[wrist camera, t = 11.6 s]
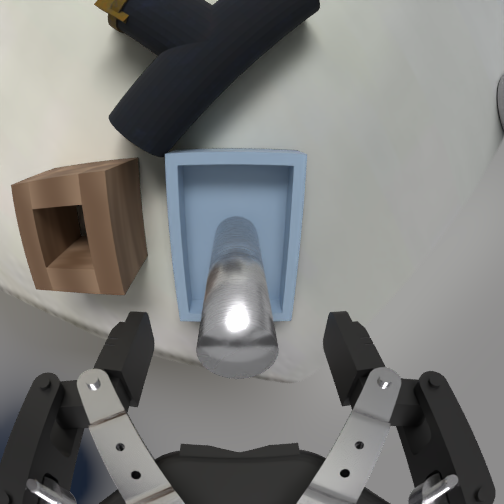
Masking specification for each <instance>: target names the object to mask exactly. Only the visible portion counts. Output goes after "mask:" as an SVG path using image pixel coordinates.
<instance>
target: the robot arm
mask: <svg viewBox="0 0 504 504" xmlns="http://www.w3.org/2000/svg"><path fill="white" fill-rule="evenodd" d="M498 109H499V115H500V119H501V123H502V126H503V129H504V75H503V76H502V77H501V79H500V82H499V86H498ZM323 348H324V352H325V355H326V358H327V361H328V364H329V367H330V370H331V373H332V376H333V379H334V382H335V386H336V389H337V392H338V395H339V398H340V401H341V404H342V406H347V405H351V407H352V412H351V414H350V416H349V418H348V419H347V421H346V423H345V425H344V427H343V429H342V431H341V433H340V434H339V436H338V438H337V440H336V442H335V444H334V445H333V447H332V449H331V450H330V452H329V454H328V455H327V457H326V458H324V457H322V456H320V455H318V454H315V453H312V452H309V451H304V450H299V446H298V443H292V444H280V445H268V446H265V447H261V448H257V449H253V450H249V451H245V452H234V451H229V450H225V449H221V448H216V447H212V446H207V445H206V446H205V445H190V444H181V448H180V451H175V452H171V453H168V454H165V455H162V456H160V457H159V458H157V459H154V457H153V456H152V454H151V453H150V451H149V450H148V448H147V446H146V445H145V443H144V442H143V440H142V438H141V437H140V435H139V433H138V432H137V430H136V428H135V426H134V424H133V423H132V421H131V419H130V417H129V415H128V414H127V412H128V408H129V406H133V407H138V404H139V400H140V397H141V393H142V389H143V386H144V382H145V379H146V375H147V372H148V368H149V365H150V362H151V358H152V355H153V351H154V337H153V333H152V329H151V325H150V320H149V316H148V314H147V313H146V312H130V313H129V315H128V317H127V319H126V321H125V322H119V323H118V324H117V325H116V326H115V327H114V328H113V329H112V330H111V332H110V334H109V336H108V339H107V340H106V342H105V345H104V347H103V349H102V351H101V353H100V355H99V357H98V359H97V361H96V363H95V366H94V368H93V369H90V370H87V371H85V372H84V373H82V374H81V375H80V376H79V378H78V380H73V381H62V382H60V380H59V379H58V377H57V376H56V375H55V374H53V373H43V374H41V375H39V376H38V377H37V378H36V379H35V380H34V382H33V383H32V386H31V388H30V390H29V392H28V394H27V396H26V398H25V401H24V403H23V405H22V408H21V410H20V412H19V415H18V417H17V419H16V422H15V424H14V427H13V430H12V432H11V434H10V437H9V440H8V442H7V445H6V448H5V451H4V454H3V457H2V460H1V463H0V504H76V500H75V498H74V496H73V495H72V494H71V493H70V487H71V482H72V477H73V472H74V468H75V463H76V459H77V455H78V450H79V447H80V443H81V439H82V435H83V431H84V428H89V429H90V432H91V434H92V437H93V439H94V441H95V444H96V446H97V448H98V451H99V453H100V455H101V457H102V459H103V461H104V463H105V465H106V468H107V469H108V471H109V473H110V475H111V477H112V479H113V481H114V483H115V485H116V486H117V488H118V489H117V490H116V491H115V492H114V493H112V494H111V495H110V496H108V497H107V498H106V499H104V500H103V501H102V502H100V503H99V504H390V503H388V502H387V501H385V500H384V499H382V498H381V497H379V496H378V495H376V494H375V493H373V492H372V491H370V490H369V489H367V488H366V487H364V486H365V484H366V482H367V480H368V478H369V476H370V474H371V472H372V470H373V468H374V465H375V463H376V461H377V459H378V456H379V454H380V452H381V449H382V447H383V444H384V442H385V439H386V437H387V434H388V431H389V429H390V426H396V427H397V430H398V433H399V437H400V439H401V443H402V446H403V449H404V452H405V455H406V459H407V462H408V465H409V469H410V472H411V476H412V479H413V483H414V487H415V488H414V489H413V491H412V492H411V494H410V496H409V504H493V501H494V499H495V487H494V484H493V482H492V479H491V476H490V473H489V470H488V468H487V466H486V463H485V460H484V458H483V455H482V453H481V450H480V448H479V446H478V443H477V441H476V439H475V437H474V435H473V432H472V430H471V428H470V426H469V423H468V422H467V419H466V417H465V415H464V413H463V411H462V409H461V407H460V405H459V403H458V401H457V399H456V397H455V395H454V393H453V391H452V390H451V388H450V386H449V384H448V382H447V381H446V379H445V378H444V376H442V375H441V374H440V373H437V372H434V371H428V372H425V373H423V374H422V375H421V377H420V378H419V380H413V379H402V378H400V376H399V375H398V374H397V373H396V372H395V371H394V370H392V369H390V368H386V367H385V365H384V363H383V361H382V359H381V357H380V355H379V353H378V351H377V349H376V347H375V346H374V344H373V342H372V340H371V338H370V336H369V334H368V332H367V331H366V329H365V328H364V327H363V326H362V325H361V324H360V323H359V322H357V321H356V322H352V320H351V318H350V316H349V314H348V313H347V312H346V311H341V312H330V313H329V315H328V320H327V324H326V329H325V333H324V338H323Z"/></svg>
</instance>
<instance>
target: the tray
mask: <svg viewBox="0 0 504 504" xmlns="http://www.w3.org/2000/svg"><path fill="white" fill-rule="evenodd" d="M306 162H307V154H305V153H303V152H300V151H298V150H282V149H252V148H211V149H181V150H173V151H171V152H168V153H166V154H165V171H166V191H167V206H168V220H169V232H170V243H171V253H172V262H173V271H174V279H175V287H176V295H177V302H178V309H179V316H180V321H201V315H202V309H203V302H204V296H205V290H206V284H207V278H208V272H209V266H210V260H211V254H212V249H213V243H214V238H215V232H216V229H217V227H218V225H219V224H220V223H221V222H222V221H223V220H225V219H227V218H229V217H233V216H239V217H243V218H246V219H248V220H249V221H251V222H252V223H253V224H254V226H255V228H256V230H257V234H258V239H259V245H260V250H261V256H262V261H263V266H264V272H265V277H266V283H267V288H268V294H269V299H270V305H271V310H272V316H273V321H291V318H292V311H293V303H294V294H295V286H296V277H297V268H298V259H299V249H300V238H301V228H302V216H303V204H304V191H305V177H306Z"/></svg>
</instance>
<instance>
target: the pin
mask: <svg viewBox="0 0 504 504" xmlns="http://www.w3.org/2000/svg"><path fill="white" fill-rule="evenodd" d="M197 356H198V359H199V361H200V362H201V364H202V365H203V366H204V367H205V368H206V369H208V370H209V371H211V372H212V373H214V374H217V375H219V376H222V377H227V378H237V379H239V378H248V377H253V376H256V375H258V374H261V373H262V372H264V371H266V370H267V369H269V368H270V367H271V366H272V365H273V363H274V362H275V360H276V358H277V356H278V344H277V338H276V333H275V327H274V321H273V316H272V310H271V305H270V299H269V294H268V288H267V283H266V277H265V272H264V266H263V261H262V256H261V250H260V245H259V239H258V234H257V230H256V228H255V226H254V224H253V223H252V222H251V221H249V220H248V219H246V218H243V217H239V216H233V217H229V218H227V219H225V220H223V221H222V222H221V223H220V224H219V225H218V227H217V229H216V232H215V238H214V243H213V249H212V254H211V260H210V266H209V272H208V278H207V284H206V290H205V296H204V302H203V309H202V315H201V322H200V328H199V335H198V342H197Z"/></svg>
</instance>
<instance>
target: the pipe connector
mask: <svg viewBox="0 0 504 504" xmlns="http://www.w3.org/2000/svg"><path fill="white" fill-rule="evenodd" d="M94 5H96V6H97V7H98V8H100V9H101V10H103V11H104V12H106V13H108V22H109V25H110V26H111V27H113V28H114V29H116V30H117V31H119V32H121V33H126V34H127V35H129V36H130V37H132V38H133V39H135V40H136V41H138V42H139V43H141V44H142V45H143V46H145V47H146V48H148V49H149V50H151V51H152V52H153V53H155V54H156V55H157V56H158V57H157V58H156V59H155V60H154V61H153V62H152V63H151V64H150V65H149V66H148V68H147V69H146V70H145V71H144V72H143V73H142V74H141V76H140V77H139V78H138V79H137V80H136V82H135V83H134V84H133V85H132V86H131V88H130V89H129V90H128V91H127V93H126V94H125V95H124V96H123V98H122V99H121V100H120V102H119V103H118V104H117V106H116V107H115V108H114V110H113V111H112V112H111V114H110V115H109V120H110V122H111V124H112V125H113V126H114V127H115V129H116V130H117V131H118V132H119V133H121V134H122V135H123V136H124V137H125V138H126V139H128V140H129V141H130V142H132V143H133V144H135V145H136V146H138V147H139V148H141V149H142V150H144V151H146V152H148V153H150V154H152V155H155V156H158V157H165V154H166V153H168V152H169V150H170V149H171V148H172V147H173V146H174V145H175V143H176V142H177V141H178V140H179V139H180V137H181V136H182V135H183V134H184V133H185V132H186V131H187V129H188V128H189V127H190V126H191V125H192V124H193V123H194V122H195V121H196V119H197V118H198V117H199V116H200V115H201V114H202V113H203V112H204V111H205V110H206V109H207V108H208V107H209V105H210V104H211V103H212V102H213V101H214V100H215V99H216V98H217V97H218V96H219V95H220V94H221V93H222V92H223V91H224V90H225V89H226V88H227V87H228V86H229V85H230V84H231V83H232V82H233V81H234V80H235V79H236V78H237V77H239V76H240V75H241V74H242V73H243V72H244V71H245V70H246V69H247V68H248V67H249V66H250V65H251V64H253V63H254V62H255V61H256V60H257V59H258V58H259V57H260V56H262V55H263V54H264V53H265V52H266V51H267V50H269V49H270V48H271V47H272V46H273V45H274V44H276V43H277V42H278V41H279V40H280V39H282V38H283V37H284V36H285V35H287V34H288V33H289V32H290V31H292V30H293V29H294V28H296V27H297V26H298V25H299V24H301V23H302V22H303V21H305V20H306V19H307V18H309V17H310V16H312V15H313V14H314V13H316V12H317V11H318V10H319V8H320V2H319V0H218V1H217V2H216V3H215V4H213V5H211V4H209V3H208V2H206V1H205V0H97V2H96V3H95V4H94Z"/></svg>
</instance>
